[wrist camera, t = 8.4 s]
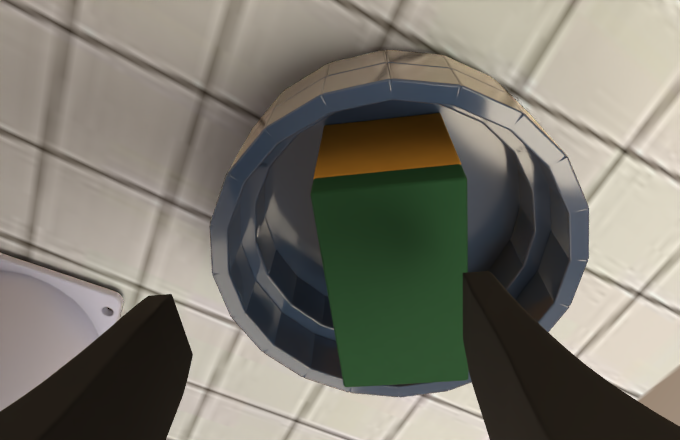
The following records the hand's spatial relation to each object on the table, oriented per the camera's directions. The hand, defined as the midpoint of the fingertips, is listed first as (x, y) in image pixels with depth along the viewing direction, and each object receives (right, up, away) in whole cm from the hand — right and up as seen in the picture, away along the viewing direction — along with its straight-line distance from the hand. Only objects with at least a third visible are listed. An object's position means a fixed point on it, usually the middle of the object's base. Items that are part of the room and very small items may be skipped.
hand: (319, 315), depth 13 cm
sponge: (+2, +3, +8) cm, 8 cm away
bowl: (+3, +3, +8) cm, 9 cm away
